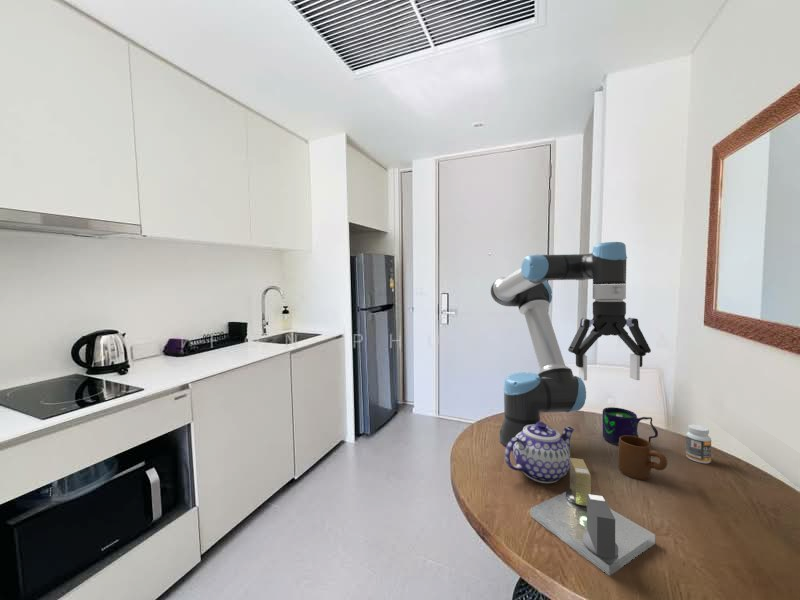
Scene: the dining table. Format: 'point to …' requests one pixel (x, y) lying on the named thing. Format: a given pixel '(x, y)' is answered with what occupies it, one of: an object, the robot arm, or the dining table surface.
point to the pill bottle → (698, 444)
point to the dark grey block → (600, 528)
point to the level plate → (572, 525)
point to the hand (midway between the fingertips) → (608, 379)
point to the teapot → (540, 452)
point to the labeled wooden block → (579, 482)
